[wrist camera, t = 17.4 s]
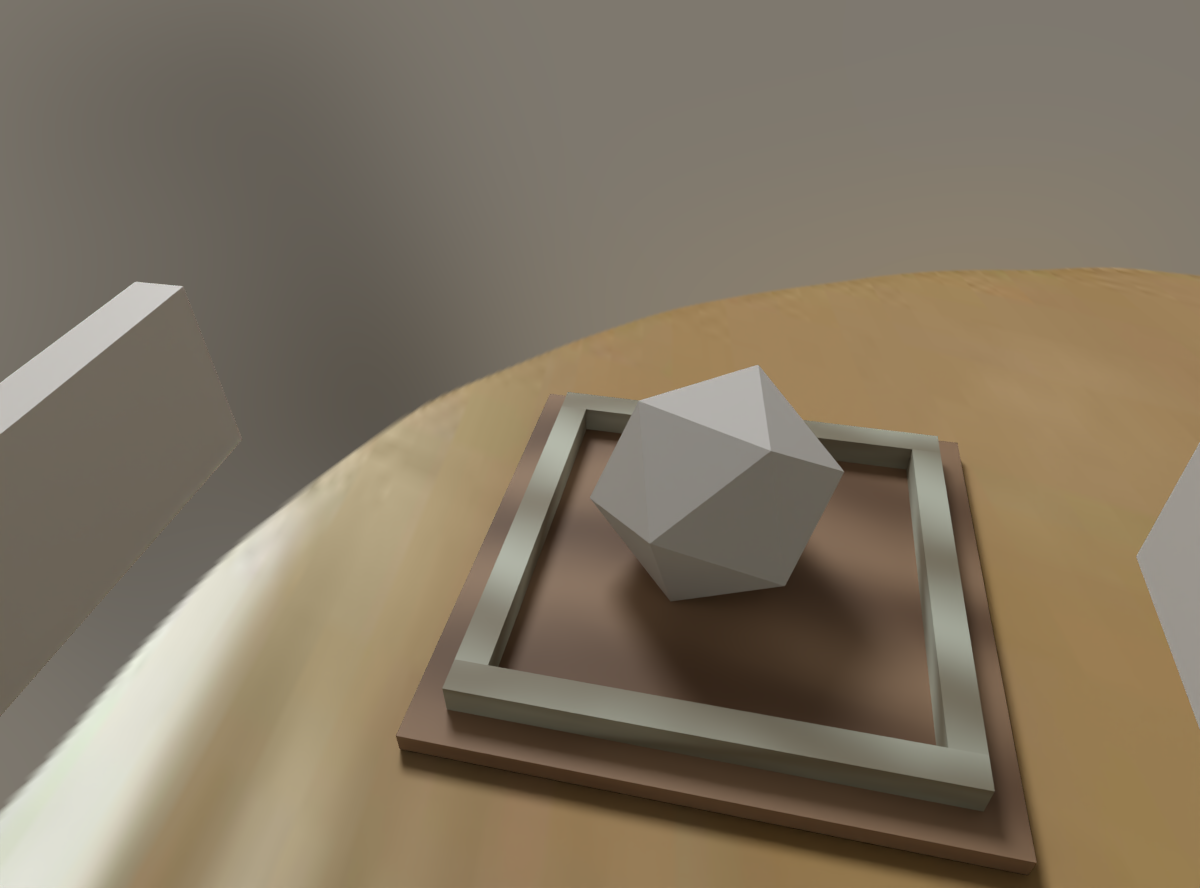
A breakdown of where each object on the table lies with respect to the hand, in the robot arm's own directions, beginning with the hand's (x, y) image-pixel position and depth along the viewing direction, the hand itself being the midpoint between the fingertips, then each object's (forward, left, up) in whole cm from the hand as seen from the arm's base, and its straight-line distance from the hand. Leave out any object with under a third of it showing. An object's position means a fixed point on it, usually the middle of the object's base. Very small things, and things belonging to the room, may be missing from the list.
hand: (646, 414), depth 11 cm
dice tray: (+10, -11, -19) cm, 24 cm away
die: (+10, -11, -18) cm, 24 cm away
